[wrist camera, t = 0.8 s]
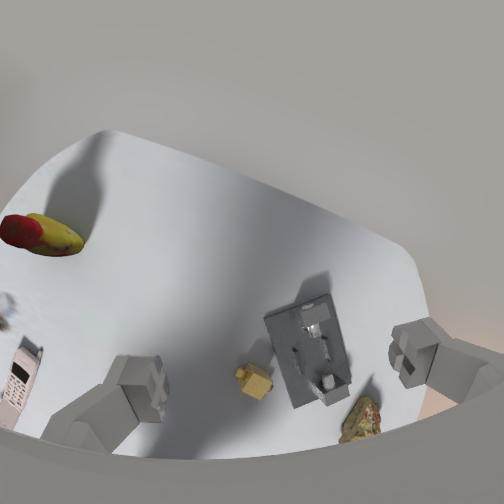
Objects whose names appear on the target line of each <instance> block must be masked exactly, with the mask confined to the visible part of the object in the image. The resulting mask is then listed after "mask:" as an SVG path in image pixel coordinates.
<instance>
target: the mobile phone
mask: <svg viewBox="0 0 504 504" xmlns="http://www.w3.org/2000/svg"><path fill="white" fill-rule="evenodd" d="M41 356H42V351H41V350H39V352H38V354H37V356H36V357H35V356H34V355H33V354H31V353H30V352H29V351H28V350H27V349H26V348H24V347H20V348H18V349H17V351H16V353H15V356H14V358H13V361H12V364H11V367H10V371H9V374H8V378H7V382H6V386H5V391H4V395H3V399H2V401H1V403H0V426H1V427H3V428H6V429H9V430H12V431H13V430H14V427H15V425H16V423H17V421H18V418H19V416H20V414H21V412H22V411H23V410H24V407H25V405H26V402H27V399H28V396H29V394H30V391H31V388H32V385H33V382H34V379H35V376H36V373H37V370H38V367H39V364H40V359H41Z"/></svg>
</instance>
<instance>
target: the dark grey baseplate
mask: <svg viewBox="0 0 504 504" xmlns="http://www.w3.org/2000/svg"><path fill="white" fill-rule="evenodd" d="M264 320H265V323H266V326H267V330H268V333H269V336H270V339H271V342H272V345H273V348H274V351H275V354H276V357H277V360H278V363H279V366H280V369H281V372H282V376H283V379H284V382H285V385H286V388H287V391H288V394H289V397H290V400H291V403H292V406H293V408H294V409H295V408H298V407H300V406H303V405H305V404H307V403H310V402H312V401H314V400H317V399H319V398H320V400H321V401H322V402H323V403H324V404H325V405H326V406H329V405H331V404H334V403H336V402H338V401H340V400H342V399H344V398H346V397H348V396H350V394H349V390H348V385H349V384H351V383H352V382H351V378H350V373H349V369H348V365H347V361H346V356H345V352H344V348H343V344H342V340H341V336H340V332H339V328H338V324H337V320H336V316H335V313H334V309H333V305H332V301H331V298H330V295H329V294H327V295H324V296H322V297H319V298H316V299H314V300H311V301H309V302H306V303H304V304H301V305H298V306H296V307H293V308H290V309H288V310H285V311H282V312H280V313H277V314H274V315H271V316H269V317H266V318H264Z"/></svg>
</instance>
